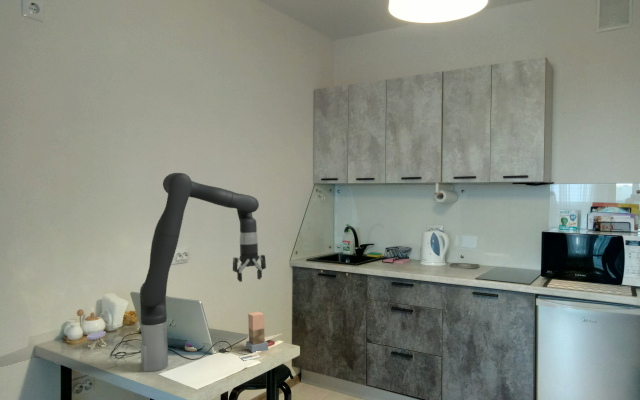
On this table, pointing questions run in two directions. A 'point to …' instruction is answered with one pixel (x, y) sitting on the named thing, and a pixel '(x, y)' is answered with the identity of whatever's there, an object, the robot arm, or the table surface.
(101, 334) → the toy table
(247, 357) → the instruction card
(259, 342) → the walnut brick
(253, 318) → the terracotta brick
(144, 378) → the table surface
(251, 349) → the base brick
